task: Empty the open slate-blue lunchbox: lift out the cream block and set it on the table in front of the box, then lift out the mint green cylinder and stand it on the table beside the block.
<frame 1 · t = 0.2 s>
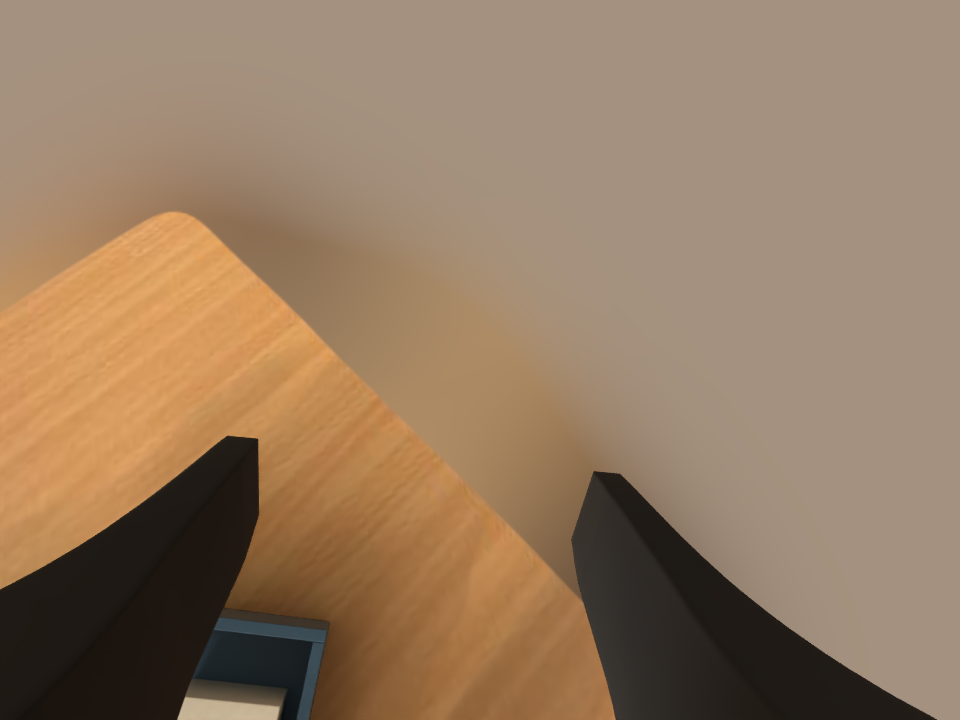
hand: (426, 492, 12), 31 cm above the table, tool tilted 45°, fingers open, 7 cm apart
lunchbox: (180, 719, 35), on the table
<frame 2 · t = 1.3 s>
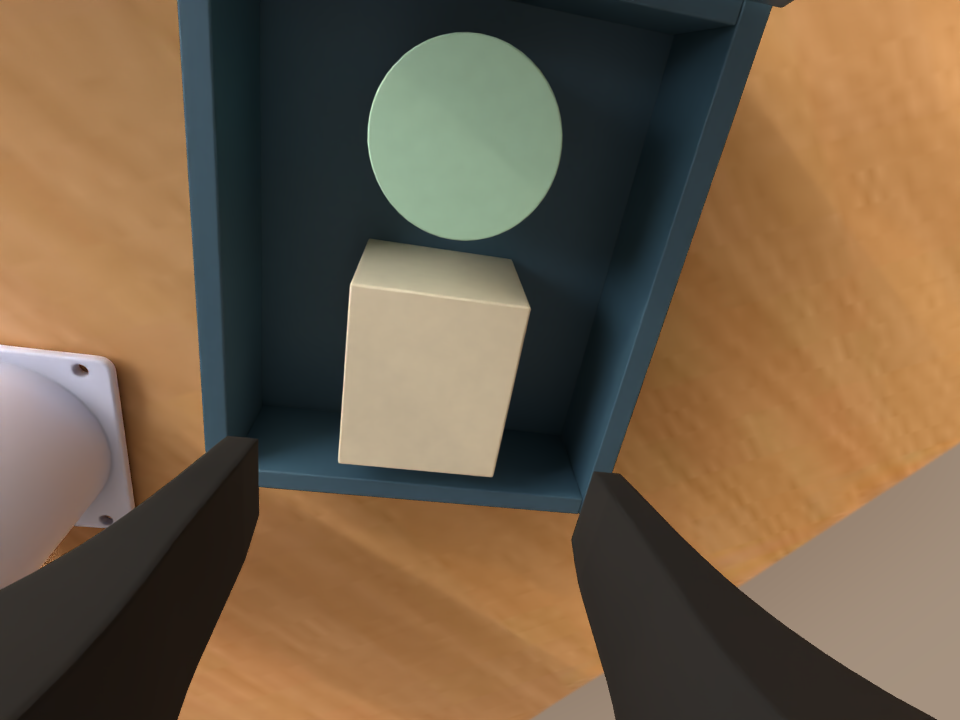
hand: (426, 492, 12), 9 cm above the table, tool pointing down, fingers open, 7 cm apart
mint green cylinder: (458, 126, 17), point 1 cm above the table, touching lunchbox
lunchbox: (442, 237, 19), on the table
cream block: (430, 327, 20), point 1 cm above the table, touching lunchbox
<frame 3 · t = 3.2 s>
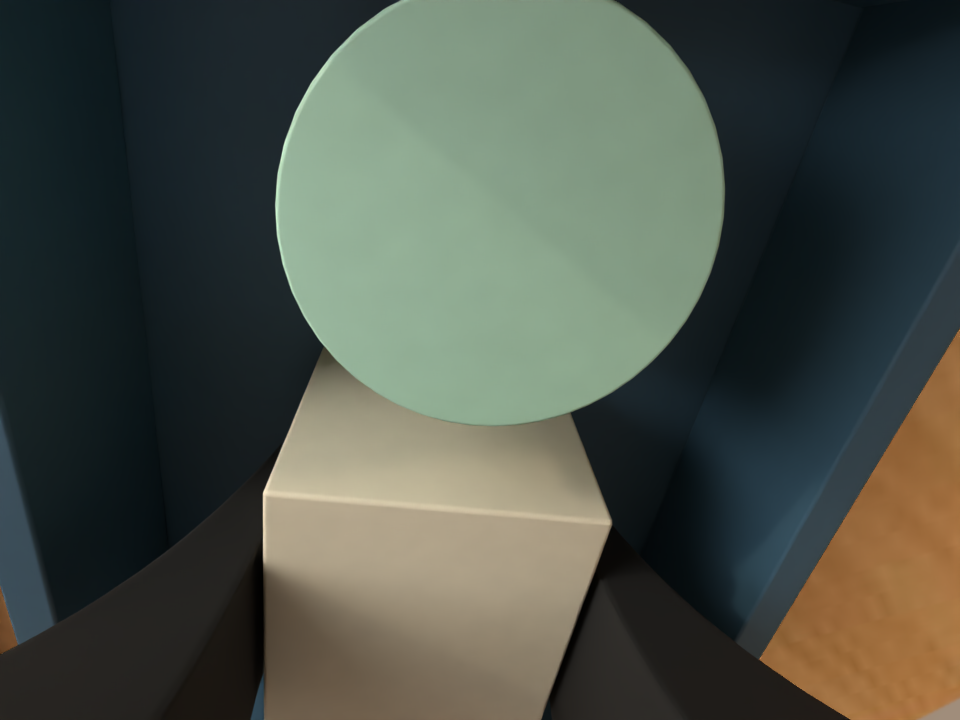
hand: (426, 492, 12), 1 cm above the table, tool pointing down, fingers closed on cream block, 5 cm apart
mint green cylinder: (475, 167, 10), point 1 cm above the table, touching lunchbox
lunchbox: (446, 335, 12), on the table
cream block: (425, 471, 13), point 1 cm above the table, touching gripper, lunchbox
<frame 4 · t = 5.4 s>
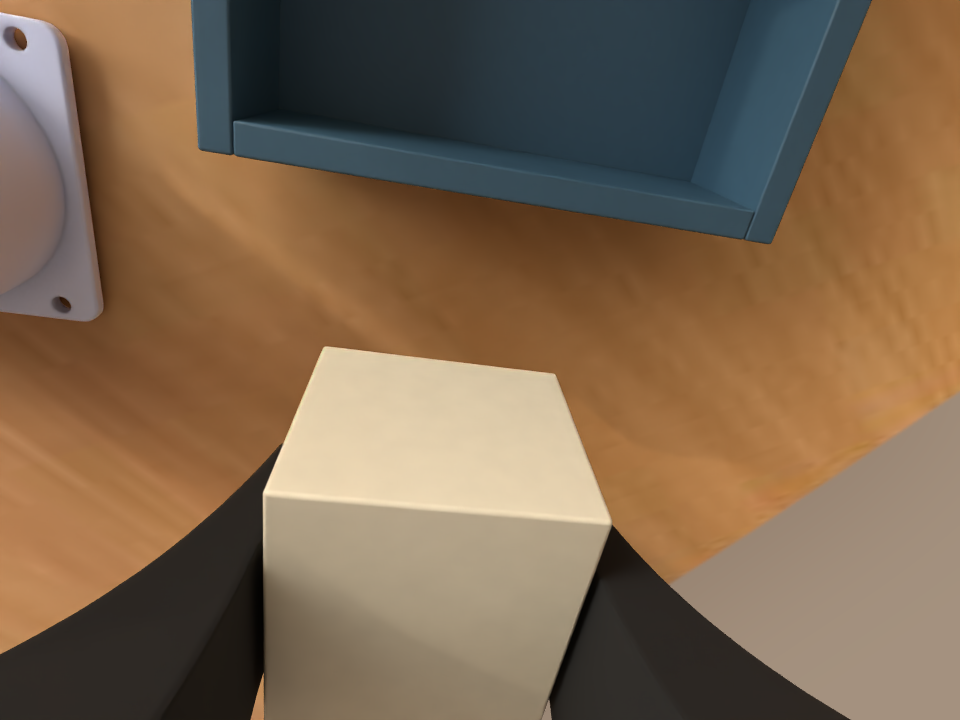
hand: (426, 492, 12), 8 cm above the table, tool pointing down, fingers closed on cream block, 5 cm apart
cream block: (425, 471, 13), point 7 cm above the table, touching gripper
when the fingers open (1 cm above the table, at t = 7.6 s): cream block stays where it is, on the table.
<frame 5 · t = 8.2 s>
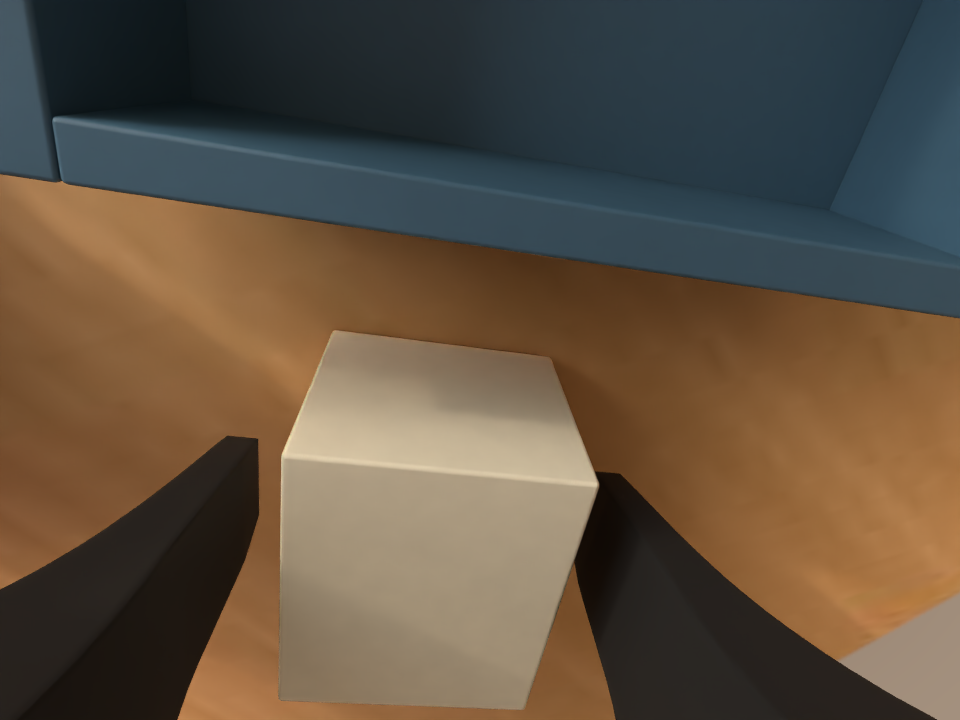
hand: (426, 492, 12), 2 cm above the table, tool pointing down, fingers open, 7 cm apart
cream block: (428, 450, 13), on the table
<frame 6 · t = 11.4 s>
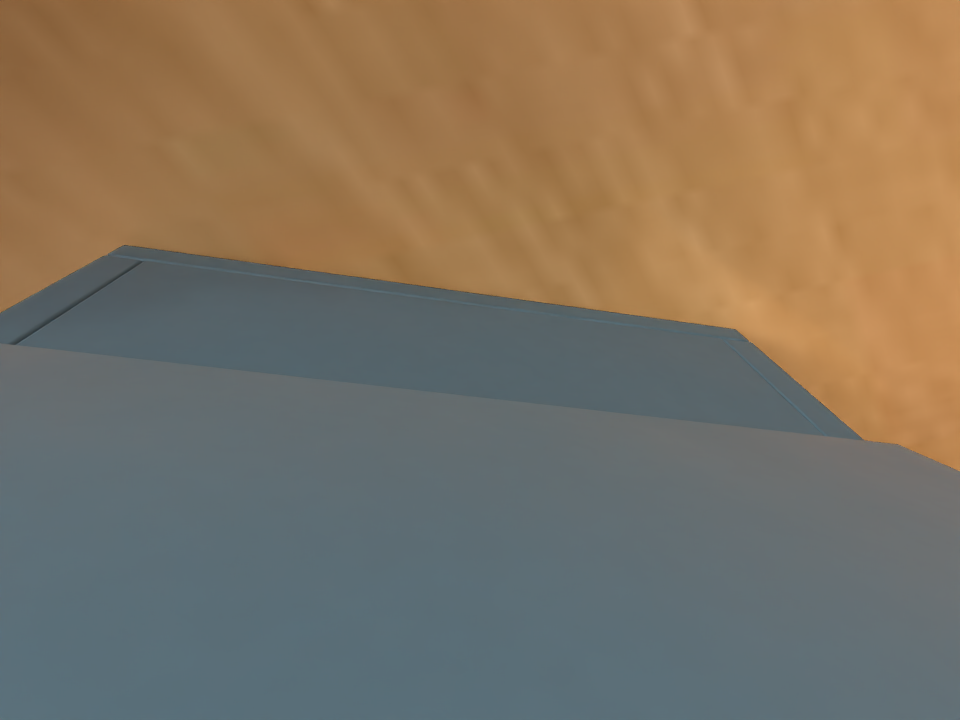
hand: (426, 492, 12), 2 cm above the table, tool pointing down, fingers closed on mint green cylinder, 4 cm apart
lunchbox: (410, 555, 15), on the table
when the fingers open (1 cm above the table, at t = 16.3 s): mint green cylinder stays where it is, on the table.
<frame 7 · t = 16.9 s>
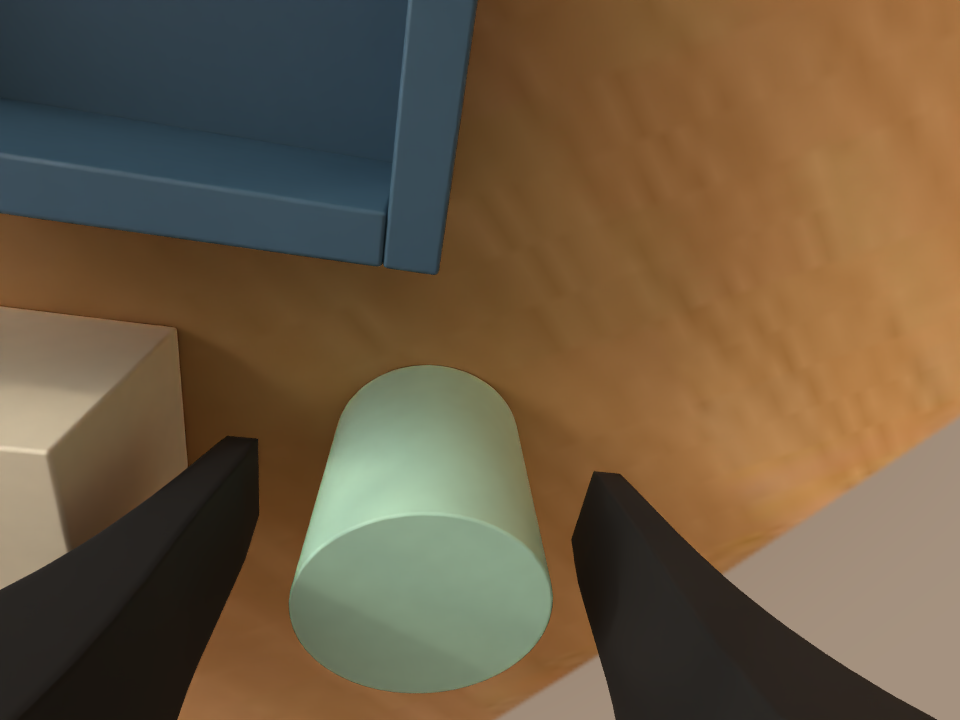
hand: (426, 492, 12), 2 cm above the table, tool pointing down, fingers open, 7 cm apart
mint green cylinder: (428, 444, 14), on the table
cream block: (76, 428, 13), on the table
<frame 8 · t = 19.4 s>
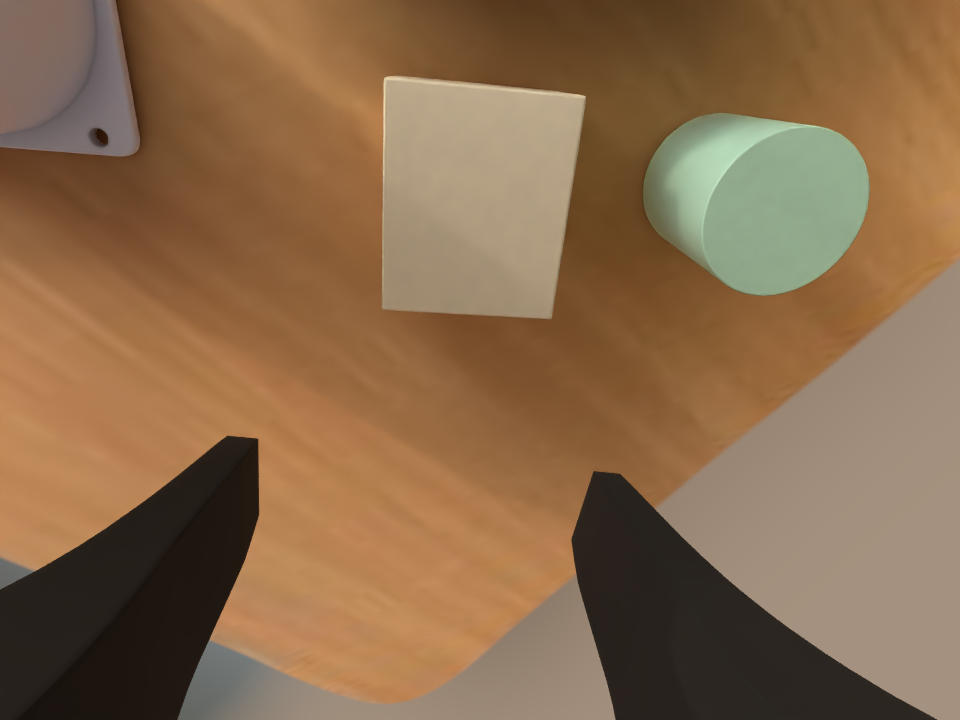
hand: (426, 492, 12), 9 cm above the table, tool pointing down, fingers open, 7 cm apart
mint green cylinder: (706, 183, 19), on the table
cream block: (468, 181, 18), on the table
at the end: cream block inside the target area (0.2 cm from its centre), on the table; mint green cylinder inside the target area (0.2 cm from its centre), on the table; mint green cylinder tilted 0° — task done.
